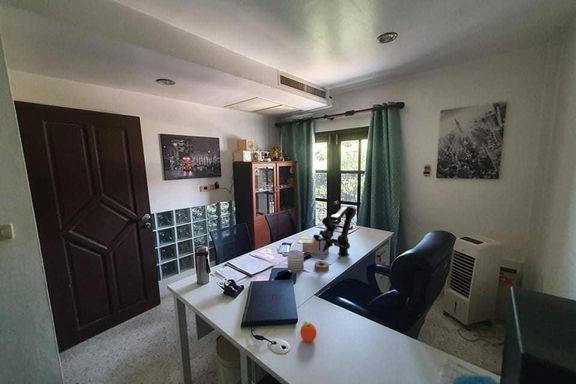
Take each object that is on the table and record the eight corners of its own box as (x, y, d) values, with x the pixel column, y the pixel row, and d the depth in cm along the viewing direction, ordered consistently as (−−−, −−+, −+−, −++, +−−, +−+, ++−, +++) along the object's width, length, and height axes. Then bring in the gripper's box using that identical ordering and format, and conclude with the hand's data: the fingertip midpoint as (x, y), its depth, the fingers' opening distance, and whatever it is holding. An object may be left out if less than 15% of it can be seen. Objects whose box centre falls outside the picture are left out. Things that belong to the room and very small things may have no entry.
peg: (323, 258, 161) (323, 241, 160) (325, 259, 159) (325, 242, 157) (319, 258, 161) (319, 241, 159) (321, 260, 158) (320, 243, 156)
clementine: (296, 335, 101) (295, 321, 100) (309, 329, 104) (308, 315, 103) (306, 348, 94) (305, 333, 93) (319, 341, 97) (319, 326, 96)
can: (300, 264, 168) (300, 249, 166) (306, 271, 157) (306, 255, 155) (285, 267, 164) (285, 251, 163) (290, 274, 154) (290, 257, 152)
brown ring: (322, 263, 168) (322, 259, 167) (331, 269, 160) (331, 264, 159) (312, 267, 163) (312, 263, 162) (320, 272, 155) (320, 268, 154)
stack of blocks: (302, 253, 187) (302, 239, 186) (302, 250, 194) (302, 236, 192) (328, 253, 185) (328, 239, 184) (328, 250, 192) (328, 236, 190)
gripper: (314, 223, 165) (305, 242, 159) (337, 228, 153) (328, 249, 147) (320, 231, 172) (312, 249, 166) (342, 236, 160) (334, 256, 153)
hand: (321, 250), depth 158 cm, fingers closed on peg, 3 cm apart
